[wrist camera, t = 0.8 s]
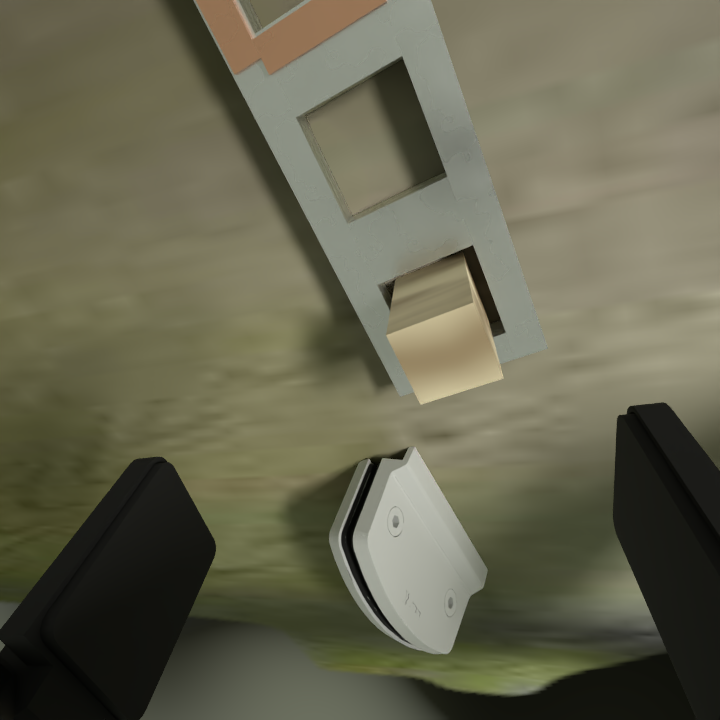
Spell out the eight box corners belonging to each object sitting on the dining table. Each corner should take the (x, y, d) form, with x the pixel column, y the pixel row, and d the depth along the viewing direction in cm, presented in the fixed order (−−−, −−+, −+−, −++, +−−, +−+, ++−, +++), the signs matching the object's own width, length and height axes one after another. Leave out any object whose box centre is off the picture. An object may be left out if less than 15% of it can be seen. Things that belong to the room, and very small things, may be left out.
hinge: (489, 572, 43) (461, 689, 36) (444, 567, 46) (410, 674, 39) (412, 442, 36) (360, 554, 30) (365, 445, 39) (307, 548, 32)
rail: (541, 333, 30) (549, 350, 29) (401, 381, 34) (399, 399, 32) (329, -292, 18) (317, -338, 16) (142, -126, 22) (113, -147, 20)
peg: (486, 313, 30) (503, 378, 23) (422, 336, 32) (420, 404, 25) (462, 251, 28) (473, 302, 22) (395, 279, 30) (385, 335, 23)
